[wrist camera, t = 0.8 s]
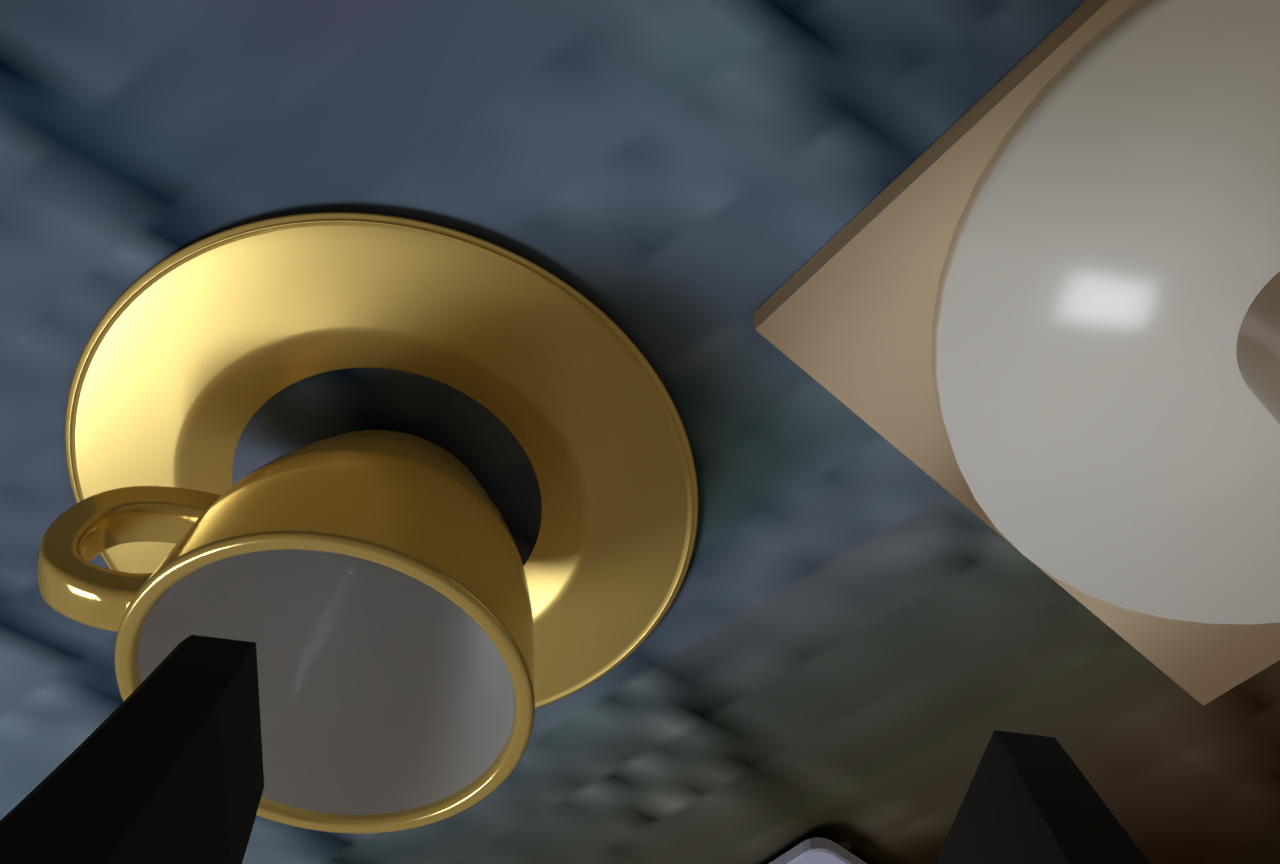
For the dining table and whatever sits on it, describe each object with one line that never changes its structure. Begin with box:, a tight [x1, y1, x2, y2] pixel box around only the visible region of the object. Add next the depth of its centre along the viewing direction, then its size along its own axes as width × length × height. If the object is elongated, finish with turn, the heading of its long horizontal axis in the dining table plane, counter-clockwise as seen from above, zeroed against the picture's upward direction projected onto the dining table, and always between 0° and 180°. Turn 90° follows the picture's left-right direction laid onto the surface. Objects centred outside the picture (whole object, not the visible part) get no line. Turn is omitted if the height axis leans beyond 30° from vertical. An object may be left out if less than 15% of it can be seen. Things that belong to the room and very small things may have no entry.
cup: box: [38, 212, 699, 833], centre depth 20 cm, size 12×12×5 cm
